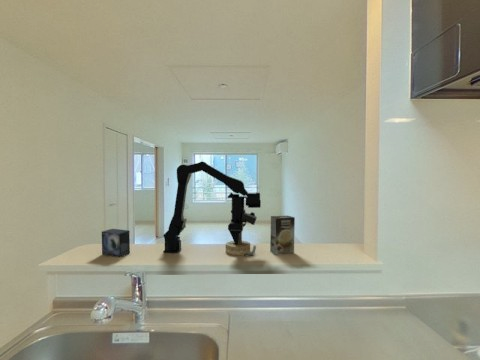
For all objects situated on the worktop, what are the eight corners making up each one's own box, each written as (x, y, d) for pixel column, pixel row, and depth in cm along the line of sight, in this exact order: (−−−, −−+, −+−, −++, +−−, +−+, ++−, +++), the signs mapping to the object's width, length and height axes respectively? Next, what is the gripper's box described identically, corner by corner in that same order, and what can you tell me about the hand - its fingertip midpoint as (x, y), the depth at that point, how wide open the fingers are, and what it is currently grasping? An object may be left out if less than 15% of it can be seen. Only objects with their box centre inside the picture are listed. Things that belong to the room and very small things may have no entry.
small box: (100, 255, 124) (100, 231, 123) (112, 251, 130) (112, 228, 129) (119, 257, 120) (118, 233, 119) (130, 253, 126) (130, 230, 125)
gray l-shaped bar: (243, 255, 122) (243, 254, 122) (247, 246, 136) (247, 245, 136) (253, 255, 122) (253, 254, 122) (255, 246, 136) (255, 245, 136)
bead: (224, 254, 124) (223, 246, 124) (228, 247, 135) (228, 240, 135) (248, 255, 123) (248, 247, 123) (251, 248, 134) (251, 240, 134)
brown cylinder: (233, 252, 127) (233, 229, 127) (234, 250, 131) (234, 228, 130) (241, 252, 127) (241, 229, 127) (242, 250, 130) (242, 228, 130)
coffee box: (276, 255, 123) (276, 218, 122) (269, 251, 129) (270, 216, 128) (294, 253, 126) (294, 217, 125) (287, 249, 132) (288, 215, 131)
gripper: (254, 211, 118) (254, 248, 118) (257, 205, 136) (256, 237, 137) (227, 210, 119) (227, 247, 120) (234, 205, 138) (234, 236, 138)
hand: (237, 241), depth 129 cm, fingers open, 9 cm apart
